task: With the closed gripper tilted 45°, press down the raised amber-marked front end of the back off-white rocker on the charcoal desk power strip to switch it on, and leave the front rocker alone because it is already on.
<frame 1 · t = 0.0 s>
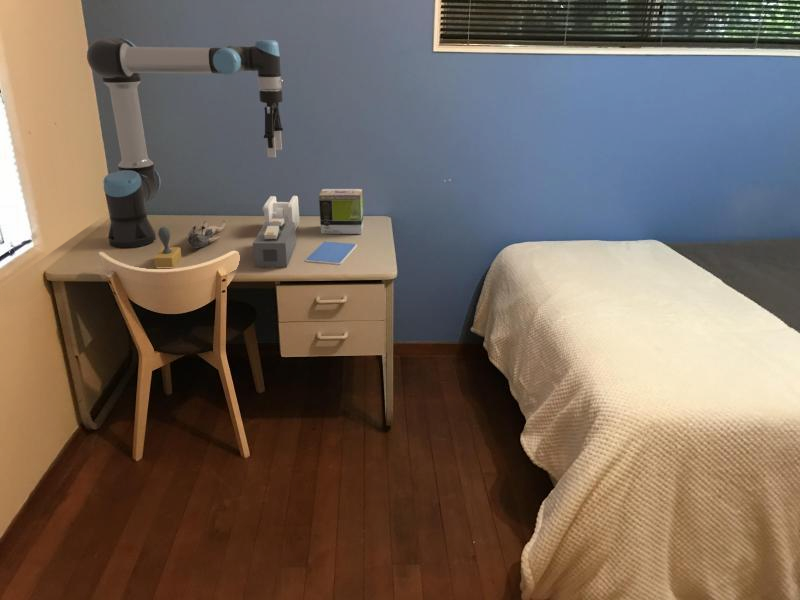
hand: (275, 153, 216), 28 cm above the table, tool pointing down, fingers open, 13 cm apart
front rocker: (271, 232, 194), point 10 cm above the table, hinge at 8.0°
back rocker: (277, 222, 203), point 10 cm above the table, hinge at -8.0°
rubber stamp: (168, 263, 195), on the table
blue flat rectangular pad: (331, 255, 205), on the table
tea box: (342, 231, 228), on the table
anime figure: (206, 241, 215), on the table
power strip: (276, 255, 202), on the table
cable organizer: (282, 230, 227), on the table
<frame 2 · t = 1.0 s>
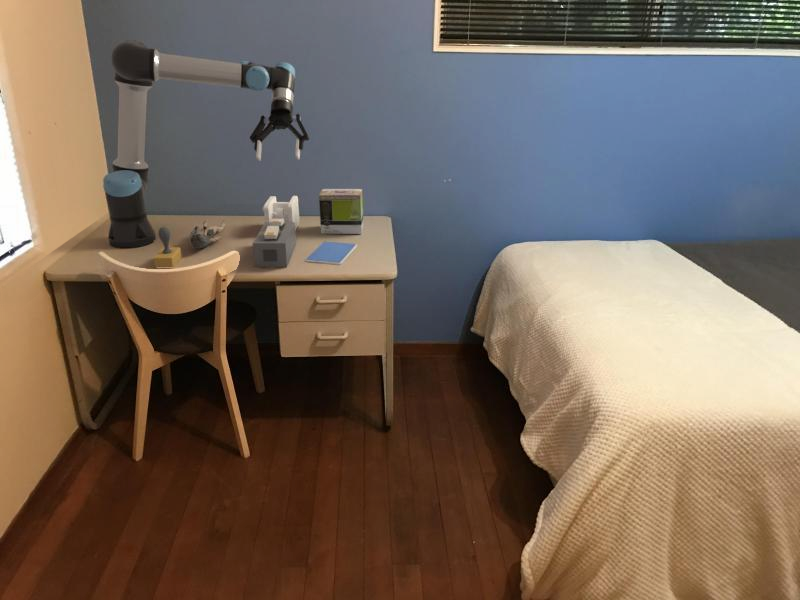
hand: (277, 158, 208), 28 cm above the table, tool tilted 40°, fingers open, 13 cm apart
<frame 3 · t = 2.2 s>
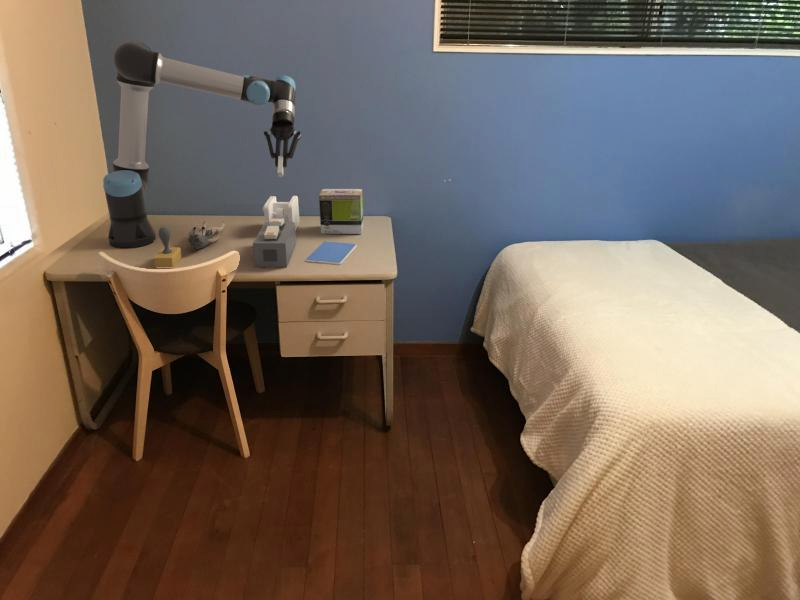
hand: (280, 174, 208), 23 cm above the table, tool tilted 45°, fingers closed
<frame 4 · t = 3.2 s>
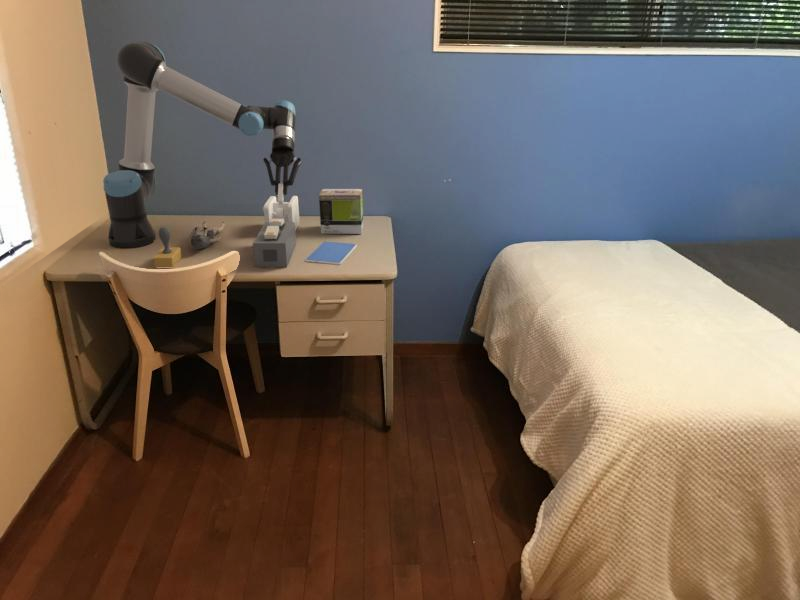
hand: (280, 202, 204), 15 cm above the table, tool tilted 45°, fingers closed
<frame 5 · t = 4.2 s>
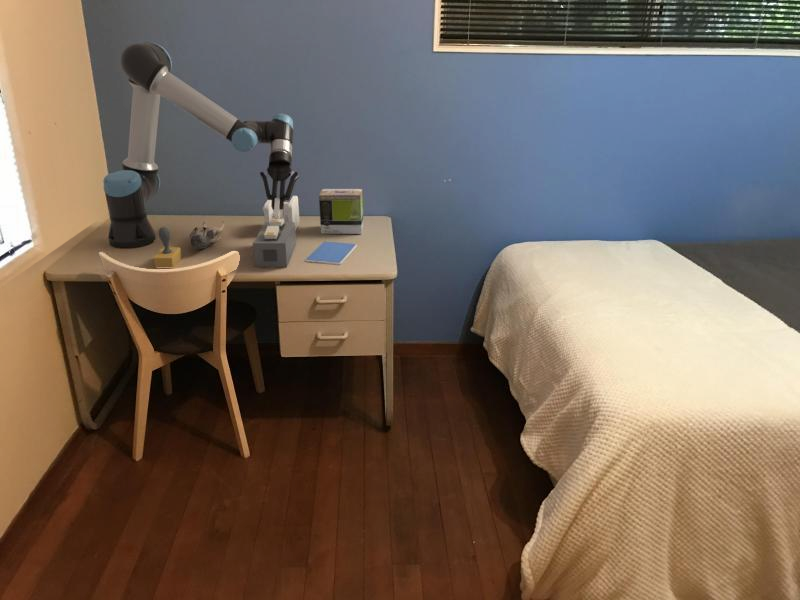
hand: (276, 217, 202), 12 cm above the table, tool tilted 45°, fingers closed
back rocker: (277, 222, 203), point 10 cm above the table, hinge at -8.0°, touching gripper
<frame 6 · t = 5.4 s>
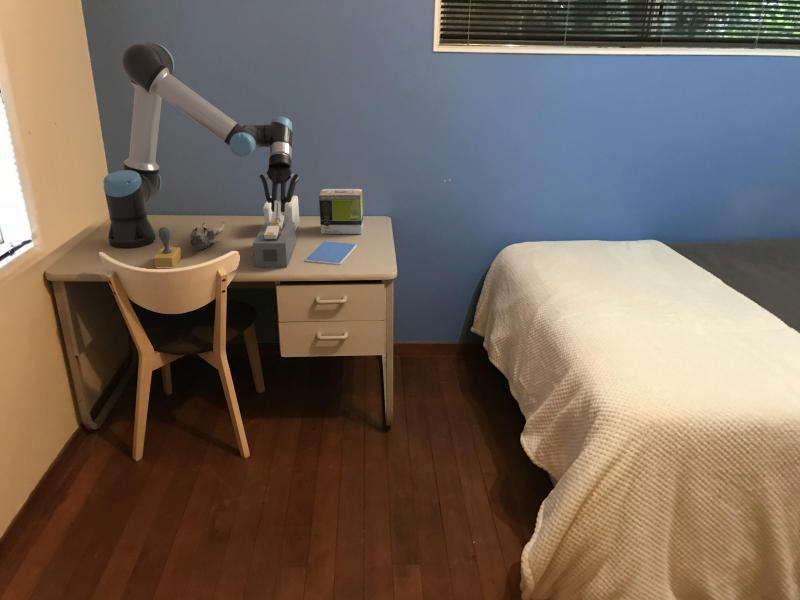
hand: (277, 220, 200), 11 cm above the table, tool tilted 45°, fingers closed
back rocker: (277, 222, 203), point 10 cm above the table, hinge at 15.3°, touching gripper, power strip
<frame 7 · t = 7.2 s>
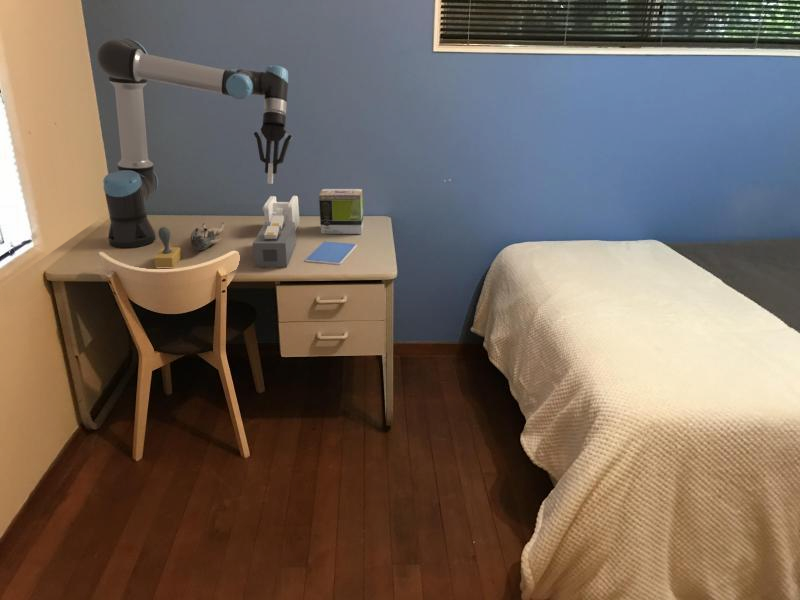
hand: (270, 183, 210), 20 cm above the table, tool tilted 25°, fingers closed
back rocker: (277, 222, 203), point 10 cm above the table, hinge at 15.0°, touching power strip
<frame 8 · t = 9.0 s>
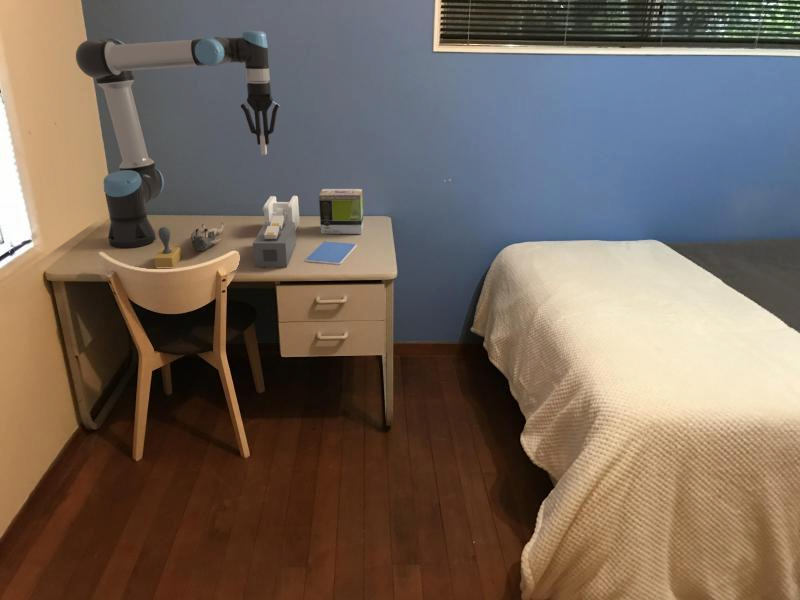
hand: (264, 154, 212), 28 cm above the table, tool pointing down, fingers closed
back rocker: (277, 222, 203), point 10 cm above the table, hinge at 15.3°, touching power strip
at the end: back rocker at +15° (first picture: -8°); front rocker at +8° (first picture: +8°) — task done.
